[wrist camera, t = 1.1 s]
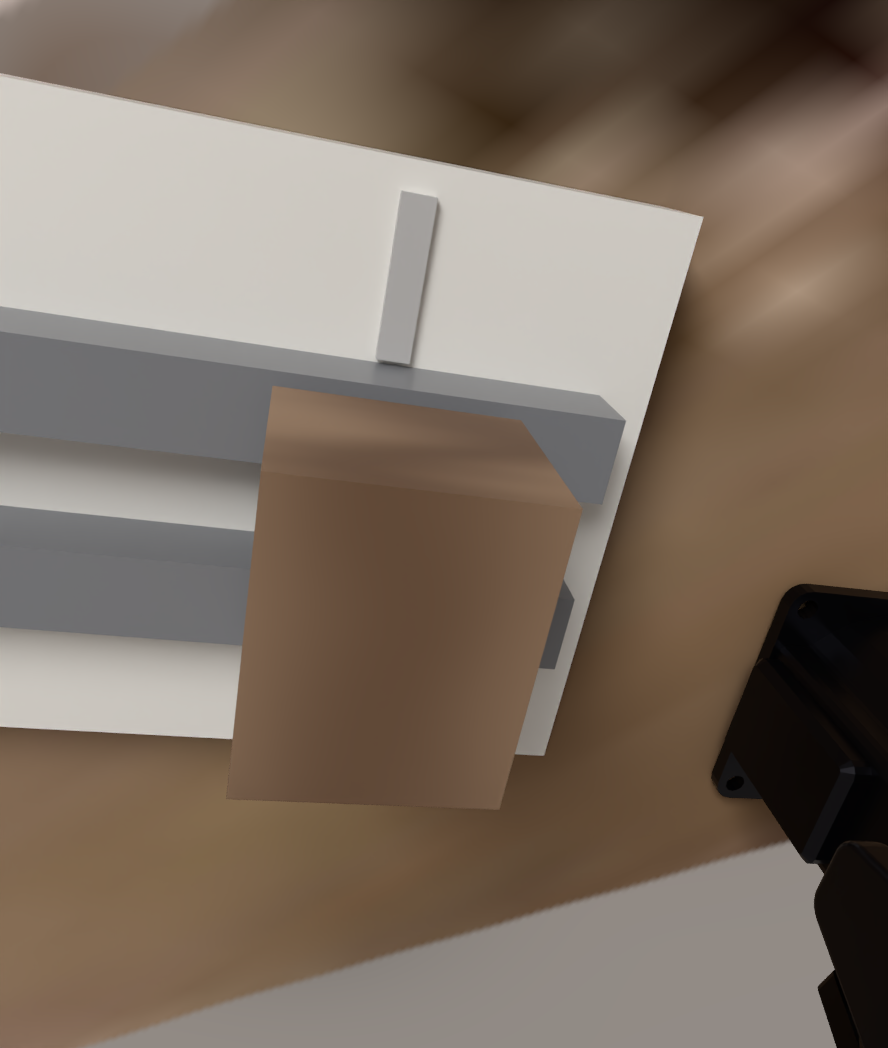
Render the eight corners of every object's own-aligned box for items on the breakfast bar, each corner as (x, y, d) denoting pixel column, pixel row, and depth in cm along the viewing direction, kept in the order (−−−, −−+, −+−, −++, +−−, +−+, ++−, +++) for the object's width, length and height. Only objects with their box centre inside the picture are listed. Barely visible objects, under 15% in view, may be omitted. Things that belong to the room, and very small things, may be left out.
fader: (500, 390, 15) (583, 508, 11) (448, 623, 17) (499, 809, 13) (276, 357, 14) (261, 471, 10) (249, 606, 16) (226, 798, 12)
